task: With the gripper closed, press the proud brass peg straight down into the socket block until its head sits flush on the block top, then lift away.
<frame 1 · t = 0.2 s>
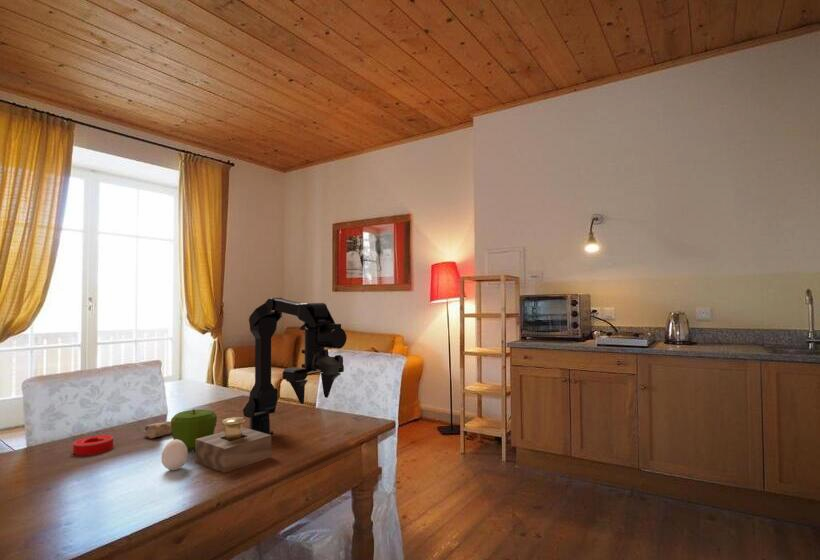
hand: (314, 400, 130), 14 cm above the table, fingers open, 9 cm apart
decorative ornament: (93, 451, 133), on the table
egg: (174, 470, 116), on the table
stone: (163, 435, 147), on the table
socket block: (233, 459, 123), on the table
apple: (193, 448, 133), on the table
peg: (233, 431, 123), point 7 cm above the table, slide at 0.0 cm
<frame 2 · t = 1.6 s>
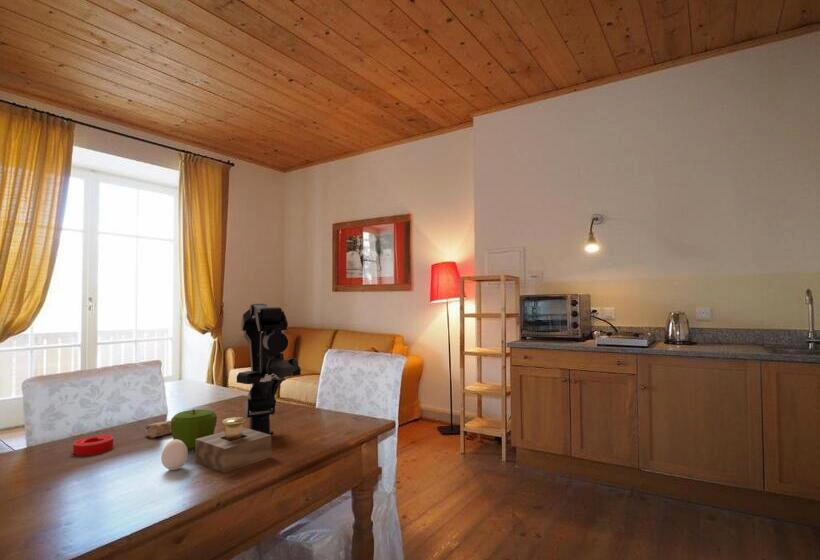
hand: (270, 403, 132), 13 cm above the table, fingers closed
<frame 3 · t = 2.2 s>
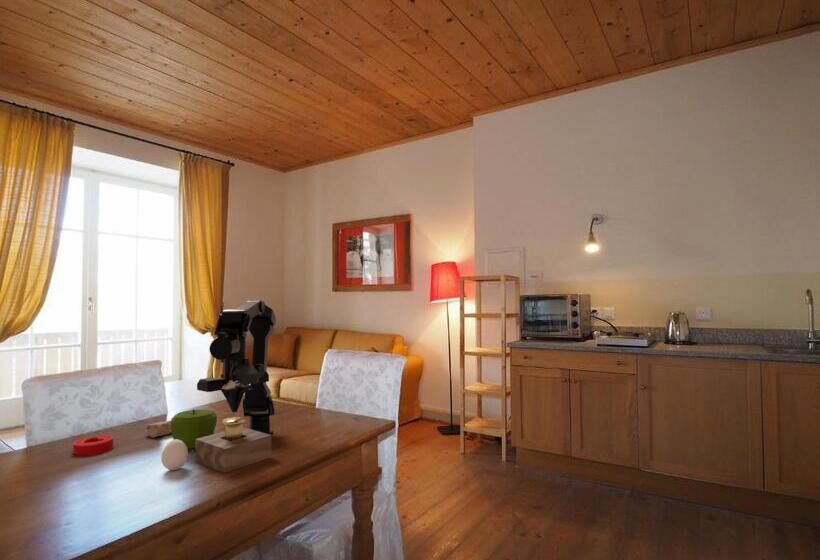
hand: (234, 412, 124), 13 cm above the table, fingers closed
nothing on the table moved.
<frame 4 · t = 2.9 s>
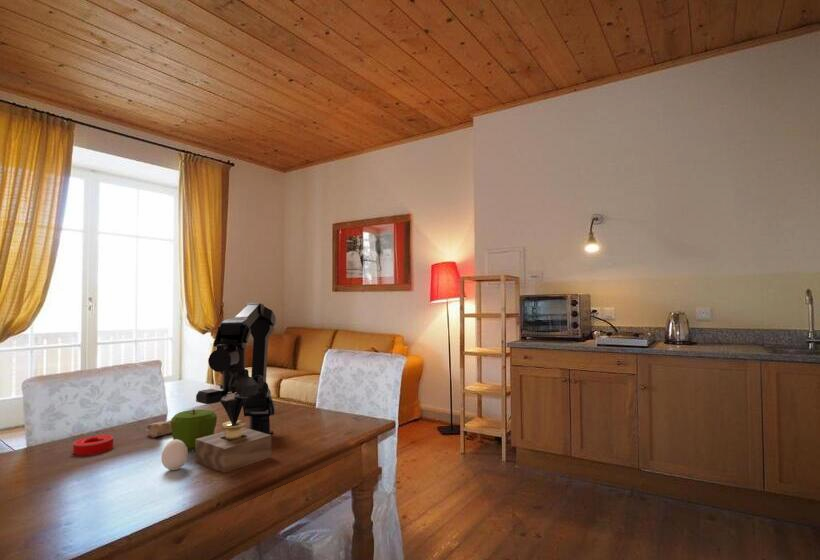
hand: (233, 423, 123), 10 cm above the table, fingers closed, pressing on peg
peg: (233, 435, 123), point 7 cm above the table, slide at 0.9 cm, touching gripper
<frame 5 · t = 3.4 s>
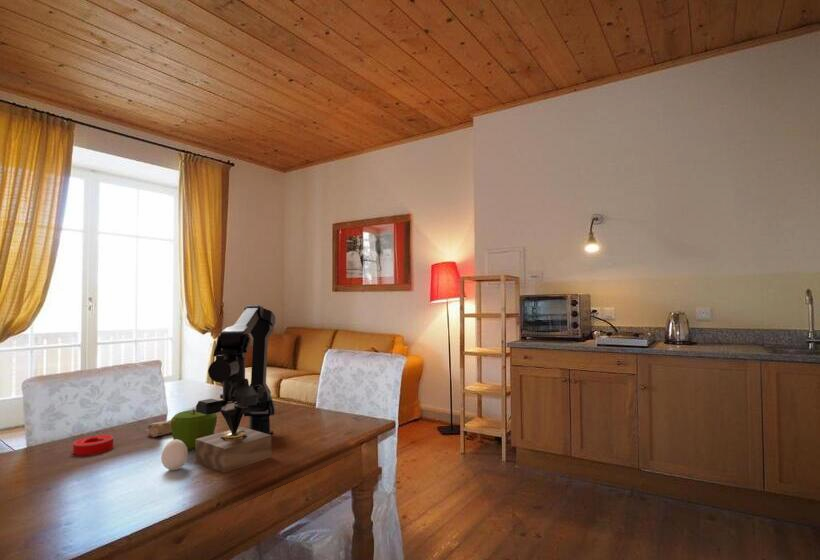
hand: (233, 432, 123), 7 cm above the table, fingers closed, pressing on peg
peg: (233, 444, 123), point 4 cm above the table, slide at 3.5 cm, touching gripper
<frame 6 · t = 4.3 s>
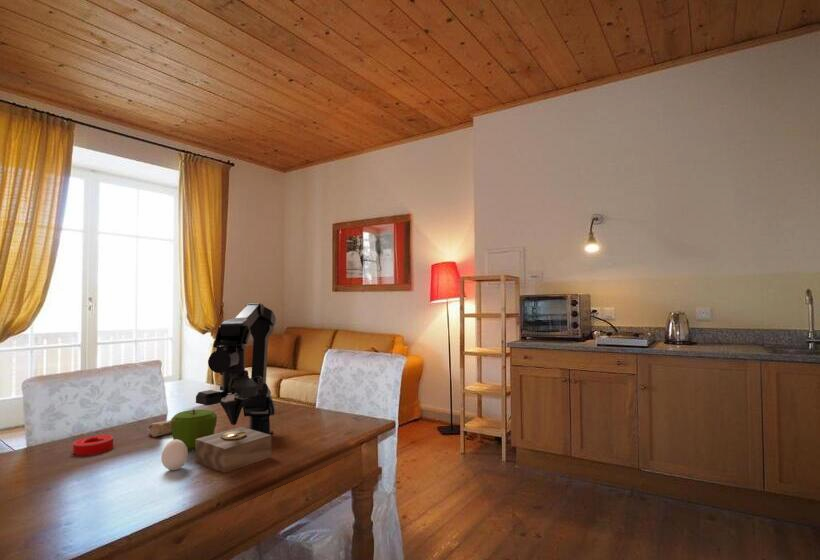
hand: (233, 424, 123), 9 cm above the table, fingers closed
peg: (233, 446, 123), point 4 cm above the table, slide at 3.8 cm
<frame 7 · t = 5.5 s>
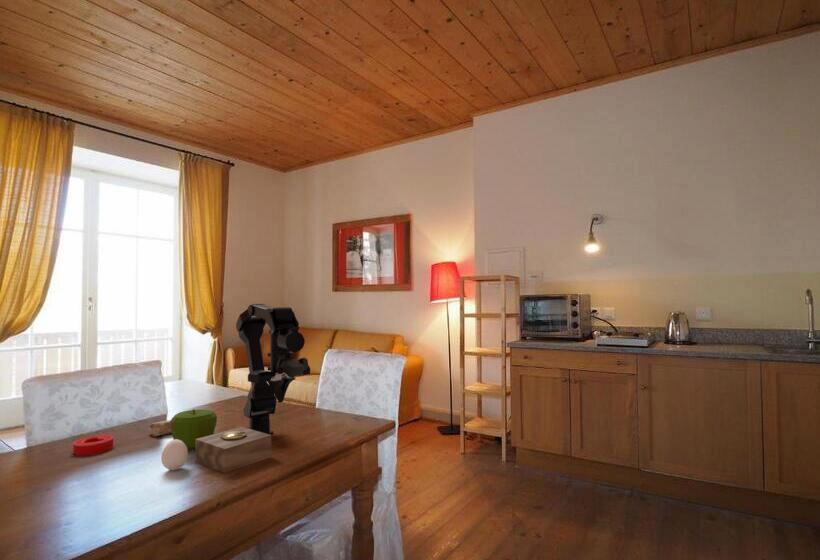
hand: (280, 402, 134), 13 cm above the table, fingers closed
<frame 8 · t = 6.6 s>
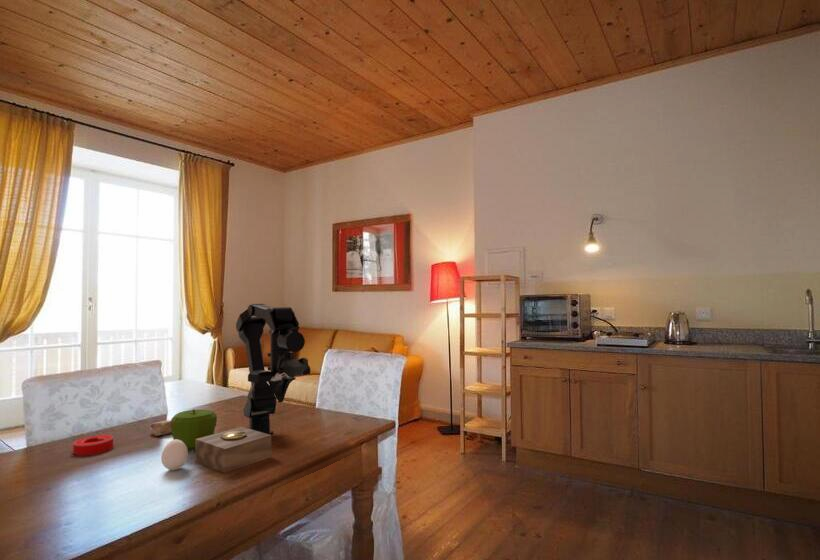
hand: (280, 402, 134), 13 cm above the table, fingers closed
at the end: peg slide at 3.8 cm; peg resting on socket block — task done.
